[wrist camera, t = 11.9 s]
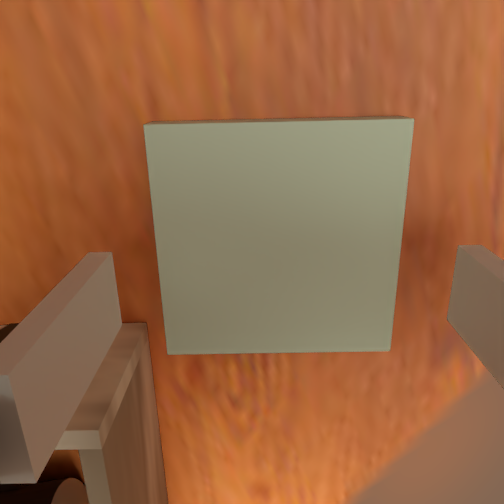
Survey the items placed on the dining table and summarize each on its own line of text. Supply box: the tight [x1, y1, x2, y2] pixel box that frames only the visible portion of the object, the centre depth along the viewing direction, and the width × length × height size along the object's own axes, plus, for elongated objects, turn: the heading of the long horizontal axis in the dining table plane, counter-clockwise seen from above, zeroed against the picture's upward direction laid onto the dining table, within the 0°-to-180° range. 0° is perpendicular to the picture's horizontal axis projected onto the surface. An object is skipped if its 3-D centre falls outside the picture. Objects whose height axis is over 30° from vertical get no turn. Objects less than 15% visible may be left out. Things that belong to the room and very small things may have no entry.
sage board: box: [143, 116, 414, 355], centre depth 19 cm, size 10×10×2 cm
